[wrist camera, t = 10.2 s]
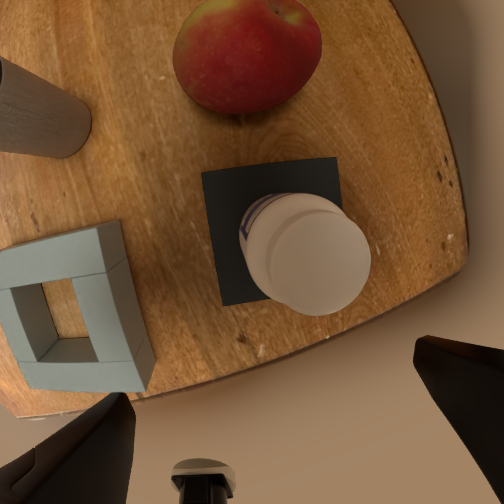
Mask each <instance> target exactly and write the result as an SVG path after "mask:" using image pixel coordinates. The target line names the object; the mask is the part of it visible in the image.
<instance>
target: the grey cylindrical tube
mask: <svg viewBox="0 0 504 504" xmlns="http://www.w3.org/2000/svg"><path fill="white" fill-rule="evenodd" d="M90 127H91V114H90V111H89V109H88V107H87V106H86V105H85V104H84V103H83V102H82V101H81V100H79V99H77V98H76V97H74V96H72V95H70V94H69V93H67V92H65V91H63V90H62V89H60V88H58V87H56V86H55V85H53V84H51V83H49V82H47V81H46V80H44V79H42V78H40V77H38V76H37V75H35V74H33V73H31V72H29V71H27V70H25V69H24V68H22V67H20V66H18V65H16V64H14V63H12V62H10V61H8V60H7V59H5V58H3V57H1V56H0V152H10V153H19V154H28V155H36V156H44V157H51V158H66V157H69V156H71V155H73V154H74V153H75V152H77V151H78V150H79V149H80V148H81V147H82V145H83V144H84V142H85V141H86V139H87V137H88V134H89V131H90Z"/></svg>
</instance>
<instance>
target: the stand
mask: <svg viewBox="0 0 504 504" xmlns="http://www.w3.org/2000/svg"><path fill="white" fill-rule="evenodd" d="M68 278H71V281H72V284H73V288H74V291H75V295H76V298H77V302H78V305H79V308H80V311H81V314H82V317H83V320H84V323H85V326H86V329H87V332H88V334H89V337H90V338H73V339H59V337H58V334H57V332H56V329H55V326H54V324H53V321H52V318H51V315H50V312H49V309H48V306H47V303H46V300H45V297H44V293H43V290H42V287H41V283H43V282H49V281H55V280H61V279H68ZM0 323H1V326H2V328H3V331H4V333H5V336H6V338H7V341H8V343H9V345H10V348H11V350H12V352H13V355H14V357H15V359H16V361H17V364H18V366H19V368H20V370H21V372H22V374H23V376H24V378H25V380H26V382H27V384H28V385H29V387H30V388H32V389H42V390H53V391H69V392H96V393H112V392H124V393H126V392H146V390H147V387H148V384H149V381H150V378H151V375H152V372H153V369H154V366H155V363H156V359H155V356H154V353H153V350H152V347H151V344H150V341H149V337H148V334H147V331H146V328H145V324H144V321H143V317H142V314H141V310H140V307H139V303H138V299H137V296H136V292H135V288H134V284H133V280H132V276H131V272H130V267H129V263H128V259H127V254H126V250H125V245H124V240H123V235H122V230H121V225H120V220H115V221H110V222H106V223H101V224H97V225H92V226H88V227H83V228H79V229H75V230H71V231H66V232H62V233H58V234H54V235H50V236H46V237H42V238H38V239H35V240H31V241H27V242H23V243H20V244H16V245H12V246H9V247H6V248H4V249H1V250H0Z"/></svg>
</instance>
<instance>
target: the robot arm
mask: <svg viewBox="0 0 504 504" xmlns="http://www.w3.org/2000/svg"><path fill="white" fill-rule="evenodd" d="M413 364H414V367H415V369H416V370H417V372H418V374H419V376H420V377H421V379H422V381H423V382H424V384H425V386H426V388H427V389H428V391H429V393H430V395H431V397H432V398H433V400H434V401H435V403H436V404H437V406H438V407H439V409H440V410H441V411H442V413H443V414H444V416H445V417H446V418H447V420H448V421H449V423H450V424H451V426H452V427H453V428H454V430H455V431H456V433H457V434H458V435H459V437H460V439H461V440H462V442H463V443H464V445H465V446H466V447H467V449H468V451H469V452H470V454H471V455H472V457H473V458H474V460H475V461H476V463H477V465H478V466H479V468H480V469H481V471H482V472H483V474H484V476H485V477H486V479H487V480H488V482H489V484H490V485H491V487H492V489H493V491H494V492H495V494H496V496H497V497H498V499H499V501H500V502H501V504H504V350H502V349H497V348H491V347H485V346H480V345H475V344H470V343H464V342H459V341H454V340H449V339H444V338H439V337H435V336H430V335H426V336H424V337H421V338H418V339H417V340H416V343H415V350H414V357H413ZM135 424H136V415H135V412H134V409H133V407H132V405H131V403H130V401H129V398H128V396H127V395H126V393H124V392H112V393H110V394H109V395H108V396H106V397H105V398H103V399H102V400H101V401H99V402H98V403H97V404H95V405H94V406H92V407H91V408H90V409H88V410H87V411H85V412H84V413H83V414H81V415H80V416H78V417H77V418H76V419H74V420H73V421H71V422H70V423H68V424H67V425H66V426H64V427H63V428H61V429H60V430H58V431H57V432H56V433H54V434H53V435H51V436H50V437H48V438H47V439H45V440H44V441H43V442H41V443H40V444H38V445H37V446H36V447H35V448H32V449H31V450H29V451H28V452H26V453H25V454H23V455H22V456H20V457H19V458H17V459H15V460H14V461H12V462H10V463H8V464H6V465H5V466H3V467H1V468H0V504H126V498H127V492H128V485H129V479H130V473H131V468H132V462H133V452H134V437H135ZM171 480H172V481H173V483H174V484H175V486H176V487H177V488H178V490H179V491H180V497H179V504H227V499H229V498H233V493H232V491H231V489H230V486H229V484H228V482H227V480H226V477H225V475H224V474H222V473H216V474H200V475H172V477H171Z"/></svg>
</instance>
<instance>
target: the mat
mask: <svg viewBox="0 0 504 504" xmlns="http://www.w3.org/2000/svg"><path fill="white" fill-rule="evenodd" d="M201 177H202V183H203V190H204V197H205V203H206V210H207V216H208V222H209V229H210V235H211V241H212V247H213V253H214V259H215V264H216V270H217V276H218V281H219V287H220V292H221V298H222V303H223V306H228V305H235V304H241V303H247V302H253V301H259V300H265V299H271V298H270V297H269V296H267V295H266V294H265V293H264V292H263V291H262V290H261V289H260V288H259V287H258V286H257V285H256V283H255V282H254V280H253V278H252V276H251V274H250V272H249V269H248V266H247V263H246V260H245V257H244V254H243V252H242V248H241V245H240V239H239V231H240V225H241V222H242V219H243V216H244V214H245V213H246V211H247V210H248V209H249V207H250V206H251V205H252V204H253V203H254V202H256V201H257V200H259V199H260V198H262V197H264V196H267V195H270V194H275V193H307V194H313V195H316V196H320V197H323V198H325V199H327V200H329V201H331V202H332V203H334V204H335V205H336V206H337V207H339V208H340V209H341V210H342V200H341V191H340V182H339V174H338V166H337V159H336V157H330V158H316V159H305V160H294V161H284V162H275V163H266V164H258V165H250V166H242V167H235V168H228V169H222V170H215V171H209V172H203V173H201ZM342 211H343V210H342Z"/></svg>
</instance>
